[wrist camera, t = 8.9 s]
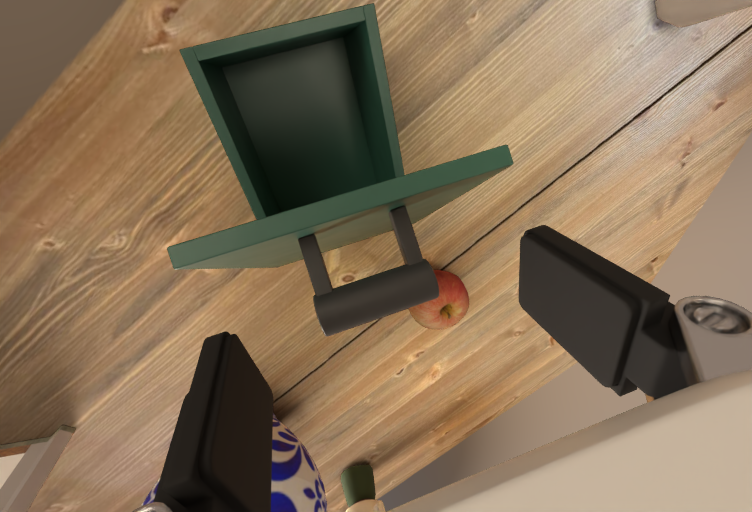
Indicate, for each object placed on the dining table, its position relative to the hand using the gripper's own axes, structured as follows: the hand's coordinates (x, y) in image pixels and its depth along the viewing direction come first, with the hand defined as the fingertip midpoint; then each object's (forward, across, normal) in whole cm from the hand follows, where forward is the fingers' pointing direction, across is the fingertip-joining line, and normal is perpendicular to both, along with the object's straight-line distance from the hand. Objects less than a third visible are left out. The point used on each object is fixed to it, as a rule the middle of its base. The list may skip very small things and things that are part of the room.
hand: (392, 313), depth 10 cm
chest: (+28, 0, -2) cm, 28 cm away
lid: (+10, 0, +1) cm, 10 cm away
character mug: (+27, +11, +60) cm, 66 cm away
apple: (+27, -9, +22) cm, 36 cm away
